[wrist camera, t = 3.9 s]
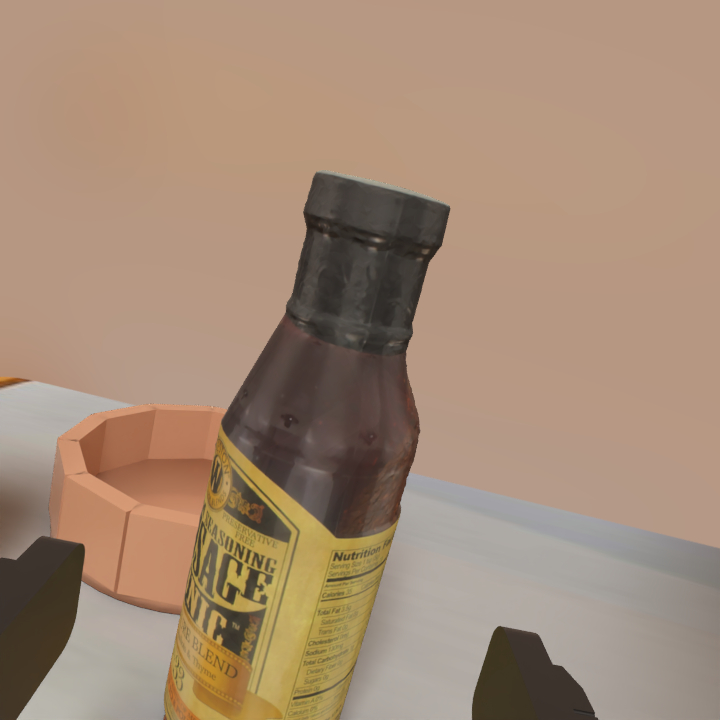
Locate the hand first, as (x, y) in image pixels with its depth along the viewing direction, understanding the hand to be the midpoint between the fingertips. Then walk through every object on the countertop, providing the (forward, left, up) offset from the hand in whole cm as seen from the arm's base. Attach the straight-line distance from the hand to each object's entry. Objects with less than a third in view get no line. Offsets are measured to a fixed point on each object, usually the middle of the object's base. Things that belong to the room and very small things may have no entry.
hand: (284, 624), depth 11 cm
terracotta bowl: (+5, -22, -11) cm, 25 cm away
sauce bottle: (0, -8, -11) cm, 14 cm away
